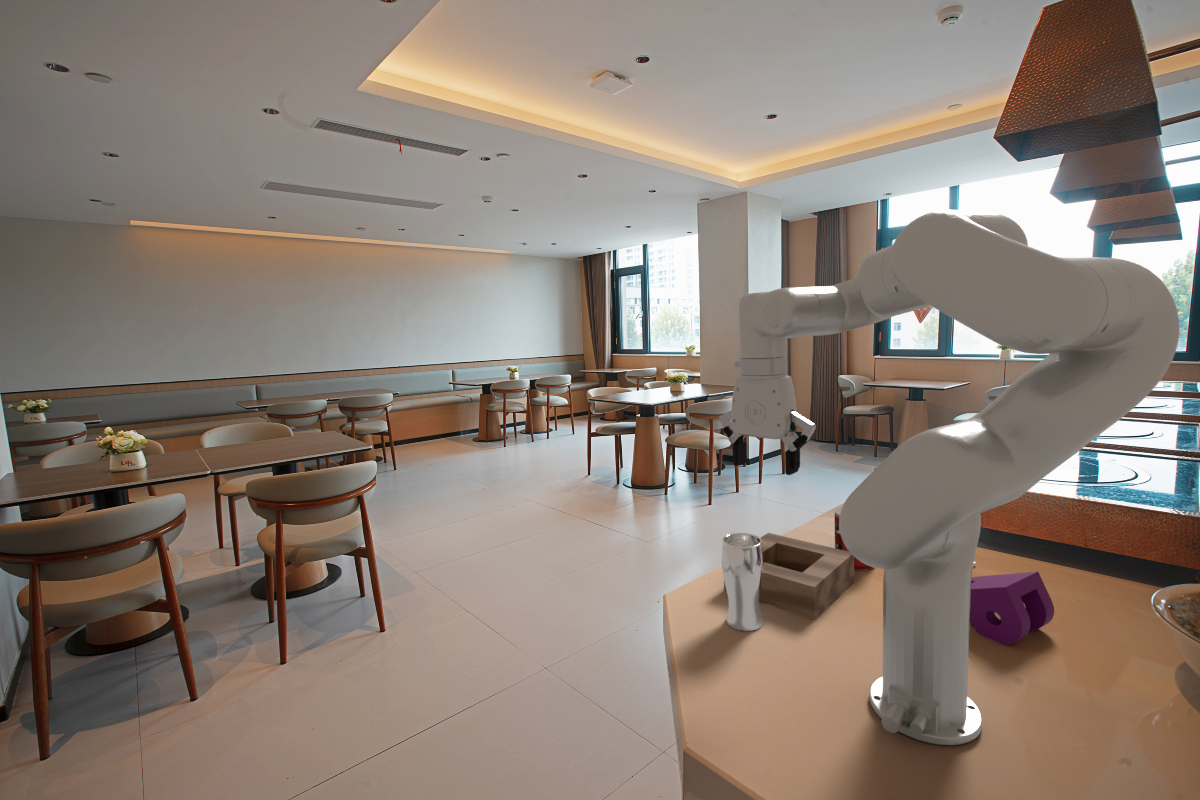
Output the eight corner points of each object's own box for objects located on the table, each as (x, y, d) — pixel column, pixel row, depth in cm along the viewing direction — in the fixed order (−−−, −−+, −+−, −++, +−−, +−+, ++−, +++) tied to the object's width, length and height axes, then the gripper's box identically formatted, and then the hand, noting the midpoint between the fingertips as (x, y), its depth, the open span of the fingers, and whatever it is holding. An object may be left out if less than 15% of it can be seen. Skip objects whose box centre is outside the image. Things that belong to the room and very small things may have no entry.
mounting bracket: (923, 642, 97) (1031, 645, 81) (904, 593, 99) (1005, 587, 84) (955, 626, 101) (1063, 626, 86) (936, 579, 103) (1038, 571, 88)
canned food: (839, 552, 122) (839, 504, 120) (879, 559, 117) (879, 509, 116) (830, 565, 115) (830, 515, 114) (872, 573, 111) (872, 521, 109)
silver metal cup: (716, 624, 96) (713, 541, 94) (736, 608, 101) (733, 529, 99) (753, 637, 91) (750, 551, 89) (772, 620, 96) (770, 537, 94)
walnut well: (814, 619, 95) (814, 587, 94) (724, 589, 108) (723, 560, 107) (853, 581, 108) (853, 552, 107) (768, 559, 120) (768, 532, 120)
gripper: (706, 369, 95) (709, 465, 97) (802, 371, 82) (803, 482, 85) (731, 365, 100) (733, 457, 102) (825, 366, 87) (825, 471, 90)
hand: (765, 468), depth 93 cm, fingers open, 9 cm apart
